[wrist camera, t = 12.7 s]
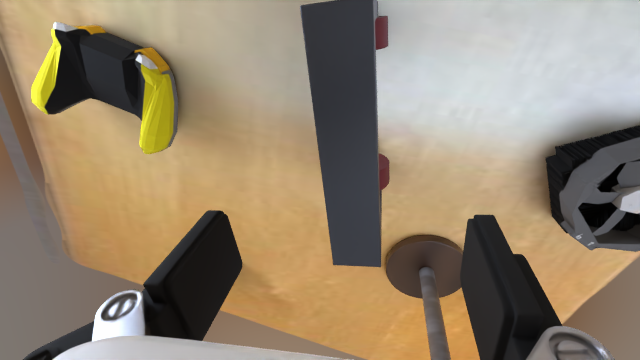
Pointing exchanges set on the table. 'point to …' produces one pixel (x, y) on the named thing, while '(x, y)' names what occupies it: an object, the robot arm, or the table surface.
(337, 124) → the headset
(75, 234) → the table surface
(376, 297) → the table surface
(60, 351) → the robot arm
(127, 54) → the gaming controller
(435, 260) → the stand
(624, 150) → the cpu cooler
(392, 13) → the table surface
